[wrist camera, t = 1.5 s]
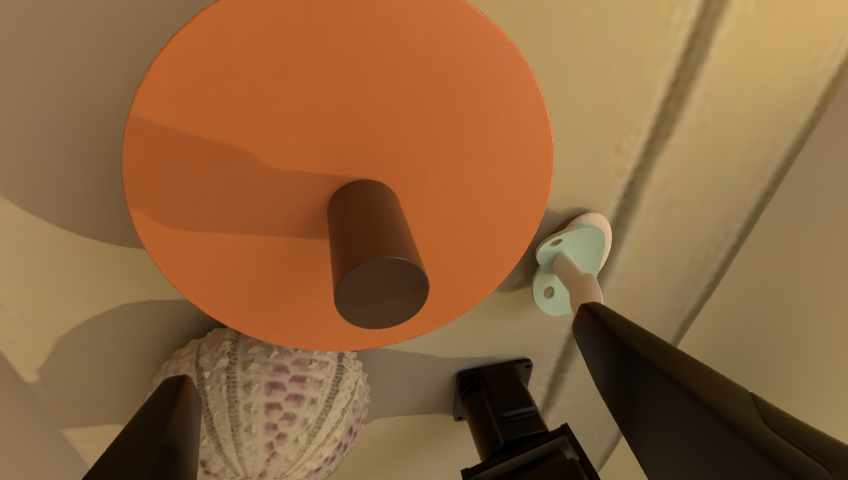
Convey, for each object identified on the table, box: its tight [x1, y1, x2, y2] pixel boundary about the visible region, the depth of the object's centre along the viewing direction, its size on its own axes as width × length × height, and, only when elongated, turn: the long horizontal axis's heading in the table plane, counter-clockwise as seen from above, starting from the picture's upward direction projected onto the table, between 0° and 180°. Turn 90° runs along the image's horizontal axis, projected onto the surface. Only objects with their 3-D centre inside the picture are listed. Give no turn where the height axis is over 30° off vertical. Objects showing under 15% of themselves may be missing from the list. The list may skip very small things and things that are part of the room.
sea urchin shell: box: [143, 327, 371, 480], centre depth 25 cm, size 13×14×8 cm
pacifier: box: [532, 212, 612, 316], centre depth 25 cm, size 7×6×6 cm
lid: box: [121, 0, 554, 352], centre depth 13 cm, size 15×15×6 cm
